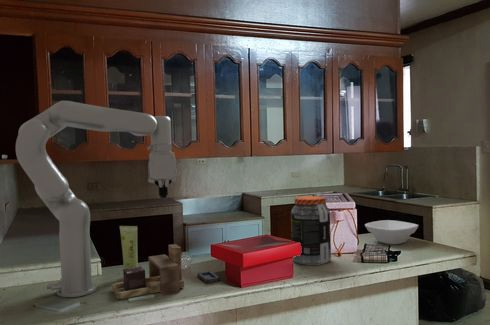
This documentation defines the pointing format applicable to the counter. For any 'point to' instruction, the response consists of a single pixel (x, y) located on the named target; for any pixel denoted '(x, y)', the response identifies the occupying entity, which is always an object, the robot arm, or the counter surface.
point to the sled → (151, 278)
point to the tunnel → (165, 273)
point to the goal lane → (141, 298)
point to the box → (134, 278)
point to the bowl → (391, 231)
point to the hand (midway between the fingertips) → (163, 197)
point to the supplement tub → (311, 229)
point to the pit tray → (208, 277)
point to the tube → (129, 246)
